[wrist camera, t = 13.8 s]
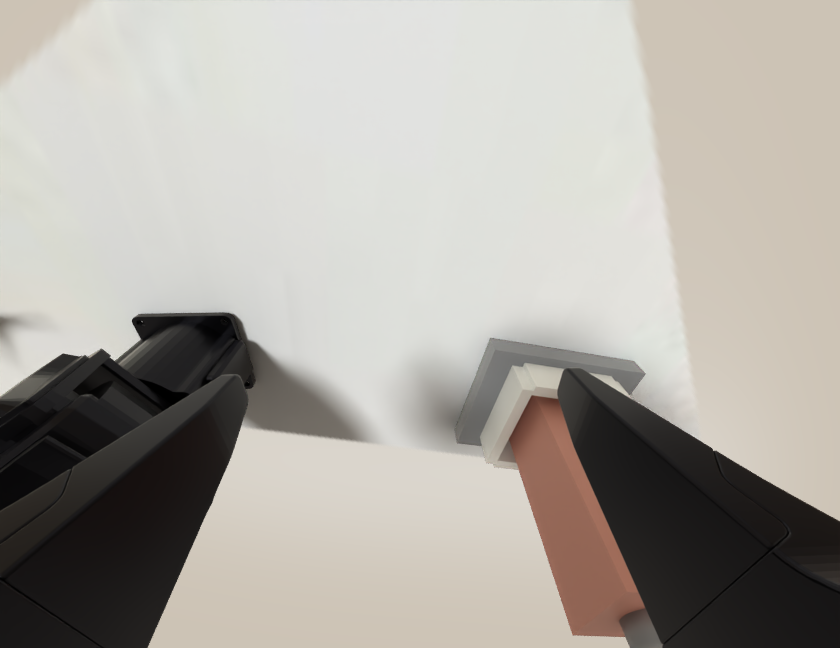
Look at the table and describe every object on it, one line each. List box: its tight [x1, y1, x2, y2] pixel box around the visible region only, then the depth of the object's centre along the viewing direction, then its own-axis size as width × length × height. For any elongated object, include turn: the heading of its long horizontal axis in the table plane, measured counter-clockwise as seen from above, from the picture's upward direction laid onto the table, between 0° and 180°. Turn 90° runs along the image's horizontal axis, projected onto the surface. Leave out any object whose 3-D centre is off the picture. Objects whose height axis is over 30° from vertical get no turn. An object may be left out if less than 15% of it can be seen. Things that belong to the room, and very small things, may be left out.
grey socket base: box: [455, 338, 646, 470], centre depth 26 cm, size 12×10×4 cm
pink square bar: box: [509, 395, 663, 648], centre depth 20 cm, size 5×5×14 cm
